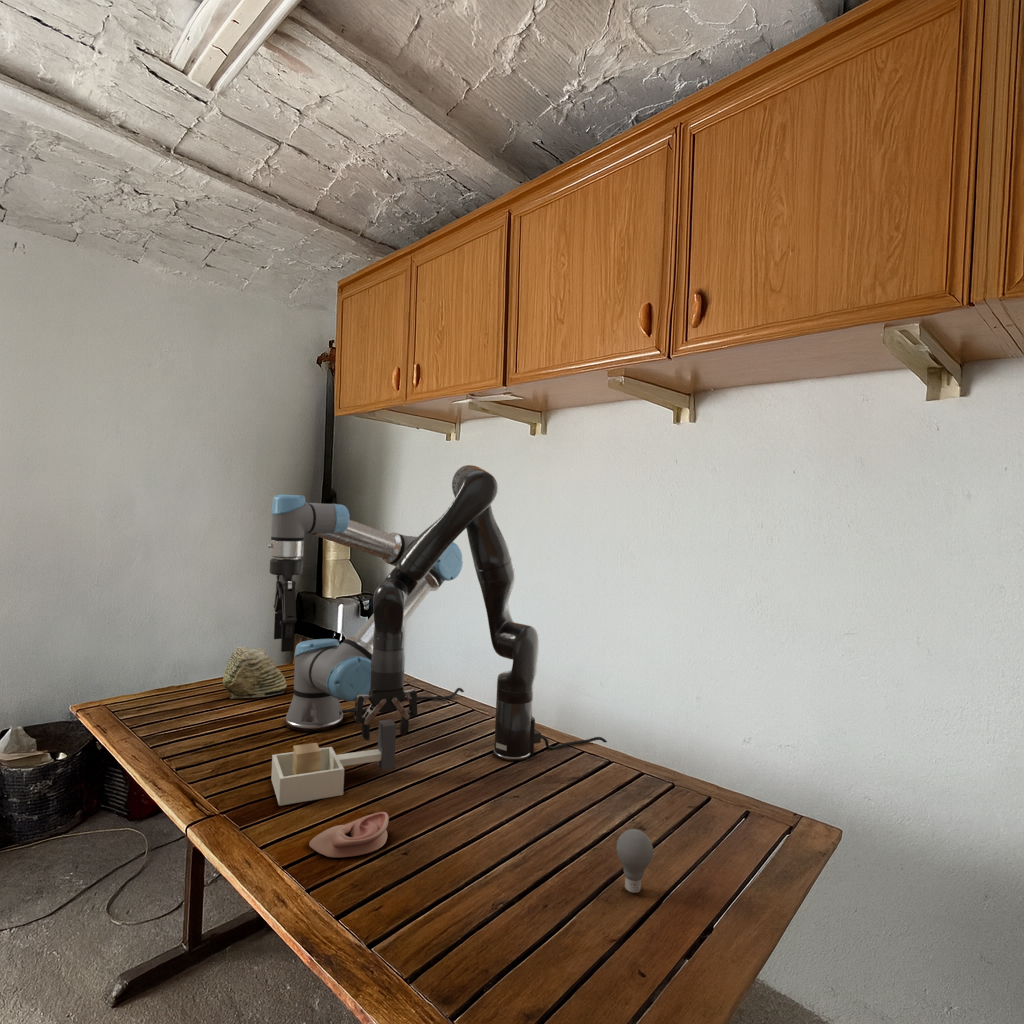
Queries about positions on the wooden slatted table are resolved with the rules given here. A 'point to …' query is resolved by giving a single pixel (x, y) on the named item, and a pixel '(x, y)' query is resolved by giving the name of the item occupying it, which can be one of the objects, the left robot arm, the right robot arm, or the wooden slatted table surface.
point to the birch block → (306, 758)
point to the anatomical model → (353, 837)
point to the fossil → (252, 674)
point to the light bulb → (634, 857)
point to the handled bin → (329, 769)
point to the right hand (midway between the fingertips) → (385, 737)
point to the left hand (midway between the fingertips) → (283, 644)
